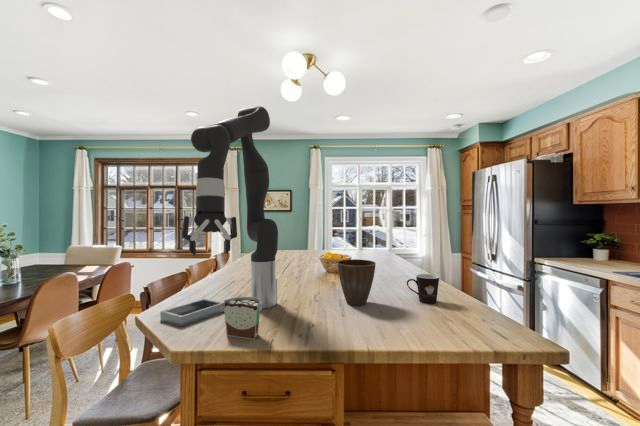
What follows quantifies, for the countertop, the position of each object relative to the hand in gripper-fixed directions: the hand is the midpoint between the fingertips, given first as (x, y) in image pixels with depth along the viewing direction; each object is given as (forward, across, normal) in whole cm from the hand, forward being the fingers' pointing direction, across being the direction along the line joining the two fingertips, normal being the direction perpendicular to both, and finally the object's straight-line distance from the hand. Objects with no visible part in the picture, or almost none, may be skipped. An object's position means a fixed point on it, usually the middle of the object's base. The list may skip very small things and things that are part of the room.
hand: (210, 254), depth 81 cm
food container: (+24, -11, -2) cm, 26 cm away
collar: (+22, 0, -27) cm, 34 cm away
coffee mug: (+22, -81, +5) cm, 84 cm away
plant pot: (+22, -56, -7) cm, 61 cm away
